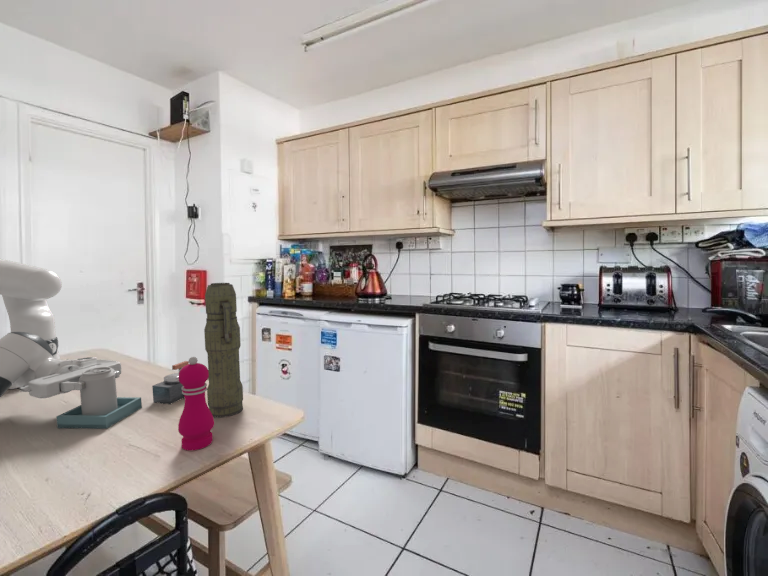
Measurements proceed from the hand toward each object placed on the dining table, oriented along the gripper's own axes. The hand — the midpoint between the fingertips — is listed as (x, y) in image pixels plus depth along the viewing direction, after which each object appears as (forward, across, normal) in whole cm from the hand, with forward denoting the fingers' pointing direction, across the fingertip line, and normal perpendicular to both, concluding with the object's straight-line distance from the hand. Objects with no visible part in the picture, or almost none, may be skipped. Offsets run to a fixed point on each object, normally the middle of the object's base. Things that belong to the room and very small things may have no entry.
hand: (100, 380), depth 96 cm
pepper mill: (+34, -5, +10) cm, 36 cm away
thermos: (+28, +12, +10) cm, 32 cm away
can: (-1, 0, +9) cm, 9 cm away
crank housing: (+7, +18, +10) cm, 22 cm away
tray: (-1, 0, +10) cm, 10 cm away
